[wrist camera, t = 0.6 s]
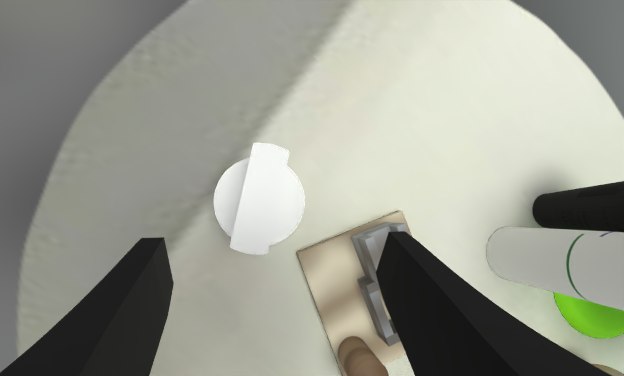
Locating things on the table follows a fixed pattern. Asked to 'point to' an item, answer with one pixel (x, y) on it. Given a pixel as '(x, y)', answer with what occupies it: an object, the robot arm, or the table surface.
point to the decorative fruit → (609, 370)
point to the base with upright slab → (259, 200)
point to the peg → (359, 358)
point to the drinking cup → (583, 208)
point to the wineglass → (591, 317)
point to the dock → (354, 287)
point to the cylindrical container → (562, 261)
